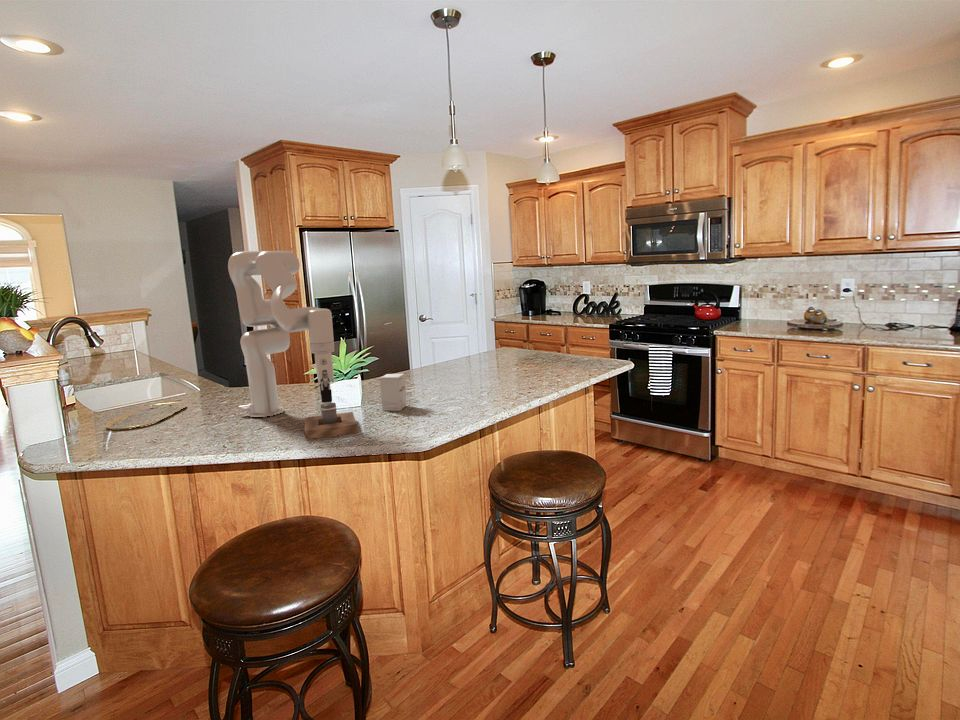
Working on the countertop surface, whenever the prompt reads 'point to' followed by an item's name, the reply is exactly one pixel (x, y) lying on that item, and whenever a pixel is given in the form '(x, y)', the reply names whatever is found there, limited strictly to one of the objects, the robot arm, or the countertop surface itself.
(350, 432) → the wooden slotted base
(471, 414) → the countertop surface
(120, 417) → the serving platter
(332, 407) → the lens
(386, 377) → the supplement box
